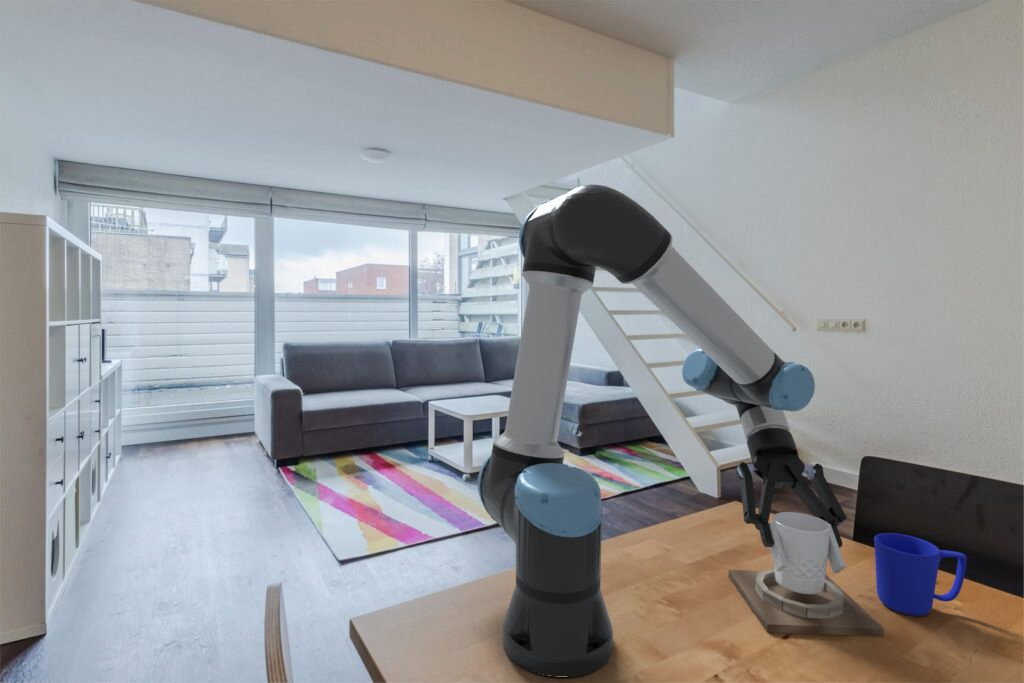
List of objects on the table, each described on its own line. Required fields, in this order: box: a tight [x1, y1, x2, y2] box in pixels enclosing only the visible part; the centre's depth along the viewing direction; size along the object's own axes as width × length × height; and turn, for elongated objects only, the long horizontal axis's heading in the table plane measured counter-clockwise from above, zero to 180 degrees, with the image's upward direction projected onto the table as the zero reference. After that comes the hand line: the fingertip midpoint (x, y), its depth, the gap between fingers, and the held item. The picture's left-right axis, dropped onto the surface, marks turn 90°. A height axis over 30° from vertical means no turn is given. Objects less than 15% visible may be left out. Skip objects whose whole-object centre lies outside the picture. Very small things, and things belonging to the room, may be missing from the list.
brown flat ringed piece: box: [727, 567, 885, 638], centre depth 83 cm, size 16×16×3 cm
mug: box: [873, 532, 968, 617], centre depth 82 cm, size 8×12×10 cm
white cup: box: [772, 511, 831, 594], centre depth 83 cm, size 8×8×10 cm
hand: (810, 568), depth 80 cm, fingers closed on white cup, 8 cm apart
